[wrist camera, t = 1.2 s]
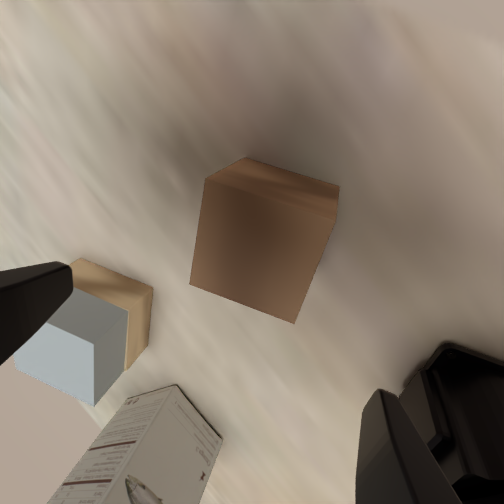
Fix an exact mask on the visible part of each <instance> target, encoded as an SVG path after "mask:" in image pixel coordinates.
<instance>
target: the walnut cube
mask: <svg viewBox="0 0 504 504" xmlns="http://www.w3.org/2000/svg"><path fill="white" fill-rule="evenodd" d="M339 188H340V187H339V186H336V185H333V184H329V183H326V182H323V181H320V180H316V179H313V178H310V177H306V176H303V175H300V174H297V173H293V172H290V171H287V170H284V169H280V168H277V167H274V166H271V165H267V164H264V163H261V162H257V161H254V160H251V159H248V158H243V159H241V160H239V161H237V162H236V163H234V164H232V165H230V166H228V167H226V168H224V169H222V170H220V171H219V172H217V173H215V174H213V175H211V176H209V177H207V178H206V179H205V185H204V192H203V198H202V205H201V211H200V218H199V224H198V231H197V237H196V244H195V250H194V257H193V263H192V270H191V276H190V283H189V284H190V285H193V286H195V287H198V288H200V289H203V290H206V291H208V292H211V293H214V294H216V295H219V296H222V297H224V298H227V299H229V300H232V301H235V302H237V303H240V304H243V305H245V306H248V307H251V308H253V309H256V310H259V311H261V312H264V313H266V314H269V315H272V316H274V317H277V318H280V319H282V320H285V321H288V322H290V323H293V324H294V323H295V321H296V318H297V316H298V313H299V311H300V308H301V306H302V303H303V301H304V298H305V296H306V294H307V291H308V289H309V286H310V284H311V281H312V279H313V276H314V274H315V271H316V269H317V266H318V264H319V261H320V259H321V256H322V254H323V251H324V249H325V246H326V244H327V242H328V239H329V237H330V234H331V232H332V229H333V227H334V224H335V222H336V216H337V207H338V197H339Z"/></svg>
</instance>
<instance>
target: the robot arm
mask: <svg viewBox="0 0 504 504" xmlns="http://www.w3.org/2000/svg"><path fill="white" fill-rule="evenodd" d="M73 289H74V285H73V274H72V268H71V267H70V266H69V265H66V264H64V263H61V262H58V261H55V262H49V263H44V264H38V265H32V266H27V267H21V268H16V269H10V270H5V271H0V365H1V364H3V363H4V362H5V361H6V360H7V359H8V358H9V357H10V356H11V355H13V354H14V353H15V352H16V351H17V350H18V349H19V348H20V347H22V346H23V345H24V344H25V343H26V342H27V341H28V340H29V339H30V338H31V337H32V336H33V335H34V334H35V333H36V332H37V331H38V330H39V329H40V328H41V327H42V326H43V325H44V324H45V323H46V322H47V321H48V319H49V318H50V317H51V316H52V315H53V314H54V313H55V312H56V311H57V310H58V309H59V308H60V307H61V305H62V304H63V303H64V302H65V301H66V300H67V299H68V298H69V297H70V296H71V294H72V292H73ZM448 352H453V353H451V354H447V353H448ZM355 498H356V504H504V362H503V361H500V360H497V359H494V358H491V357H489V356H486V355H483V354H480V353H478V352H475V351H472V350H469V349H466V348H464V347H461V346H458V345H455V344H452V343H446V344H443V345H441V346H440V347H439V348H438V350H437V351H436V352H435V354H434V355H433V356H432V357H431V359H430V360H429V361H428V363H427V364H426V365H425V367H424V368H423V369H421V370H419V371H418V373H417V374H416V375H415V376H414V378H413V379H412V380H411V382H410V383H409V384H408V386H407V387H406V388H405V389H404V391H403V392H402V393H401V395H400V399H398V398H397V396H396V395H395V394H393V393H391V392H388V391H386V390H383V389H377V390H376V391H375V392H374V394H373V395H372V397H371V398H370V400H369V401H368V402H367V404H366V405H365V407H364V409H363V412H362V419H361V429H360V439H359V449H358V459H357V469H356V489H355Z"/></svg>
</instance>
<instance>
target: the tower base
mask: <svg viewBox="0 0 504 504" xmlns="http://www.w3.org/2000/svg"><path fill="white" fill-rule="evenodd" d="M69 266H70V267H71V268H72V274H73V285H74V287H75V288H77V289H79V290H82V291H84V292H86V293H88V294H91V295H93V296H95V297H97V298H100V299H102V300H104V301H107V302H109V303H111V304H113V305H116V306H118V307H120V308H123V309H125V310H127V311H128V323H127V336H126V349H125V361H124V371H127V370H128V369H129V367H130V366H131V365H132V364H133V363H134V361H135V360H136V359H137V358H138V357H139V355H140V354H141V353H142V352H143V350H144V349H145V348H146V347H147V346H148V337H149V327H150V316H151V306H152V296H153V287H151V286H148V285H146V284H143V283H141V282H138V281H136V280H133V279H131V278H128V277H126V276H123V275H121V274H118V273H116V272H113V271H111V270H108V269H106V268H104V267H101V266H99V265H96V264H94V263H91V262H89V261H86V260H84V259H81V258H80V259H78V260H77V261H75V262H73V263H71V264H70V265H69Z"/></svg>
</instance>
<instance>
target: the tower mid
mask: <svg viewBox="0 0 504 504" xmlns="http://www.w3.org/2000/svg"><path fill="white" fill-rule="evenodd" d="M127 323H128V311H127V310H125V309H123V308H120V307H118V306H116V305H113V304H111V303H109V302H107V301H104V300H102V299H100V298H97V297H95V296H93V295H91V294H88V293H86V292H84V291H82V290H79V289H77V288H75V287H74V289H73V292H72V294H71V296H70V297H69V298H68V299H67V300H66V301H65V302H64V303H63V304H62V305H61V307H60V308H59V309H58V310H57V311H56V312H55V313H54V314H53V315H52V316H51V317H50V318H49V319H48V321H47V322H46V323H45V324H44V325H43V326H42V327H41V328H40V329H39V330H38V331H37V332H36V333H35V334H34V335H33V336H32V337H31V338H30V339H29V340H28V341H27V342H26V343H25V344H24V345H23V346H22V347H20V348H19V349H18V350H17V351H16V352H15V353H14V354H13V356H14V361H15V366H16V369H17V370H20V371H22V372H24V373H26V374H28V375H30V376H32V377H34V378H36V379H38V380H40V381H42V382H44V383H46V384H48V385H50V386H52V387H55V388H56V389H58V390H61V391H63V392H65V393H67V394H69V395H71V396H73V397H75V398H77V399H79V400H81V401H83V402H85V403H87V404H89V405H91V406H93V407H94V406H95V405H96V404H97V403H98V401H99V400H100V399H101V398H102V397H103V395H104V394H105V393H106V392H107V391H108V389H109V388H110V387H111V386H112V385H113V383H114V382H115V381H116V380H117V379H118V377H119V376H120V375H121V374H122V372H123V371H124V361H125V349H126V336H127Z"/></svg>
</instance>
